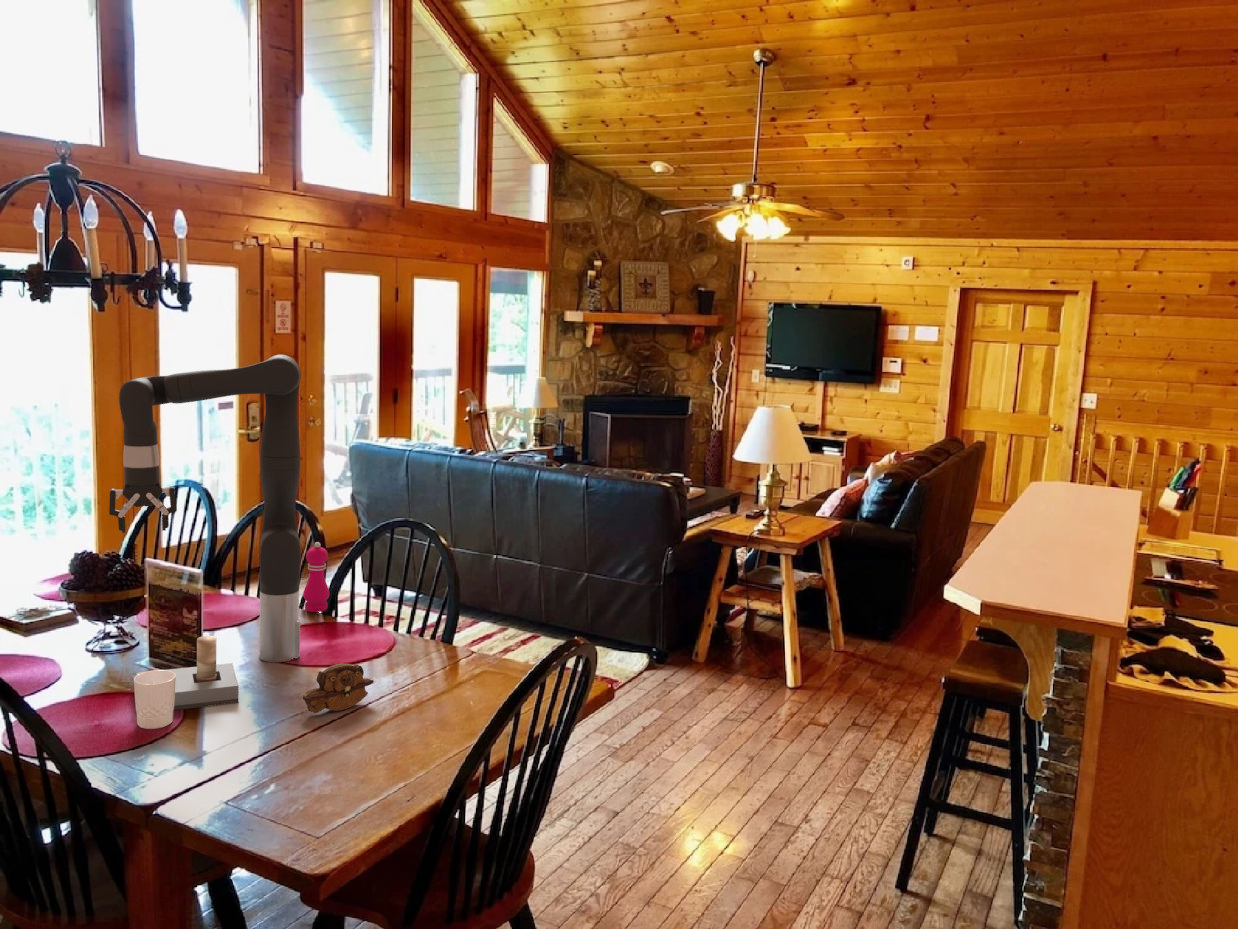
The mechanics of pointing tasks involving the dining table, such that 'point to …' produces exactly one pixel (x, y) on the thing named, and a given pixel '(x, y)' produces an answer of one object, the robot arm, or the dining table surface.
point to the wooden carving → (337, 688)
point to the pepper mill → (316, 580)
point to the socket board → (205, 688)
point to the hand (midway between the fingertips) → (144, 531)
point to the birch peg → (206, 659)
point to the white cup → (154, 698)
